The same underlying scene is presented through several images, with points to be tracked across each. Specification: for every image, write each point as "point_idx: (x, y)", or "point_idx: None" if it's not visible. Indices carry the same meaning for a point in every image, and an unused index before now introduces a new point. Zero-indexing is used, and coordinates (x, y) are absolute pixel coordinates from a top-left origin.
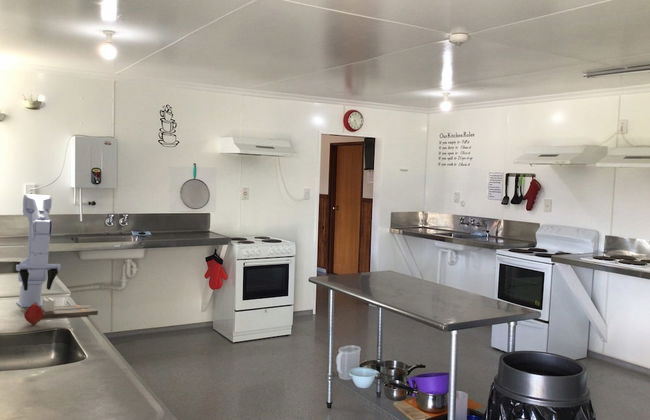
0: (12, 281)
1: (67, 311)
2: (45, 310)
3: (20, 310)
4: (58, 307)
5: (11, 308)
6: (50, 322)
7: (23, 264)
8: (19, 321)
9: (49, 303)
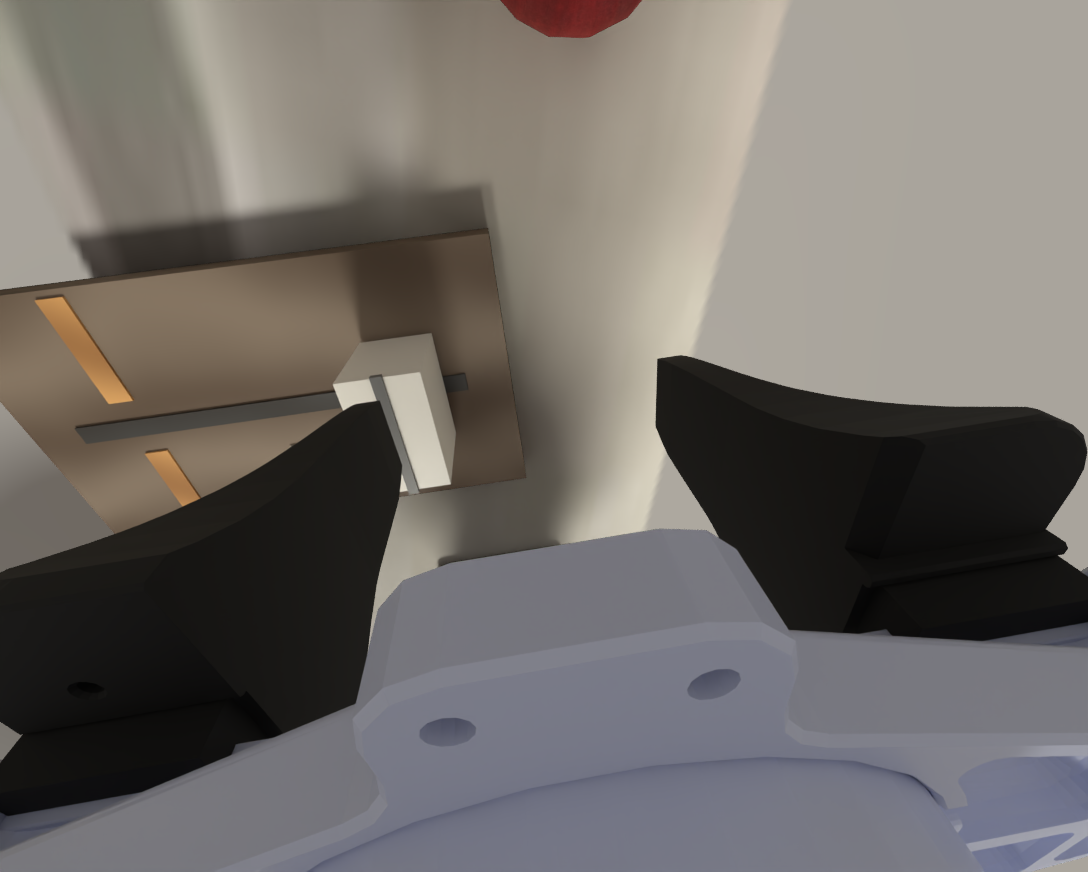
0: None
1: (239, 328)
2: (428, 337)
3: (574, 497)
4: None
5: None
6: (382, 40)
7: (1051, 854)
8: (640, 167)
9: (388, 366)
